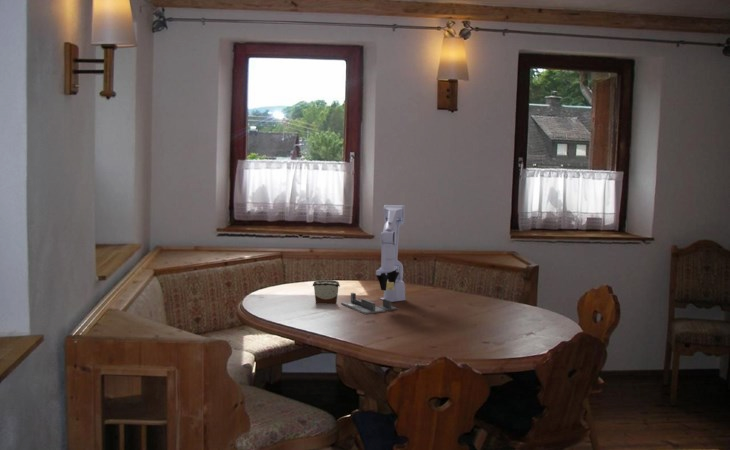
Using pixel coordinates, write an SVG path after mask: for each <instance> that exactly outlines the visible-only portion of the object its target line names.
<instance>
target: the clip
mask: <svg viewBox="0 0 730 450" xmlns="http://www.w3.org/2000/svg"><path fill="white" fill-rule="evenodd" d="M387 289H390V290H394V282H392V281H387V286H386V290H385V291H387Z"/></svg>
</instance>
